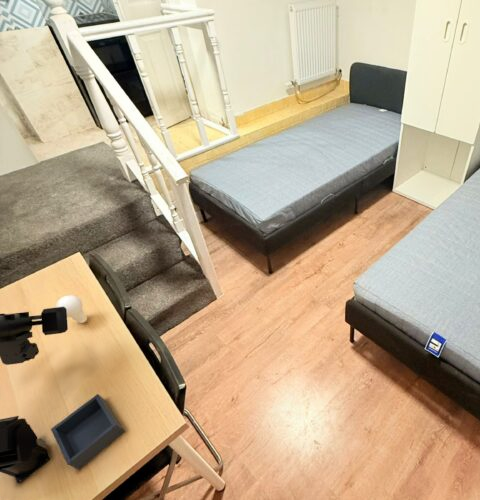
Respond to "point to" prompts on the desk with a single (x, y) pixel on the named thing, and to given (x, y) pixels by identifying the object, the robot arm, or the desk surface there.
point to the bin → (87, 432)
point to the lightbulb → (73, 308)
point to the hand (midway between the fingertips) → (47, 319)
